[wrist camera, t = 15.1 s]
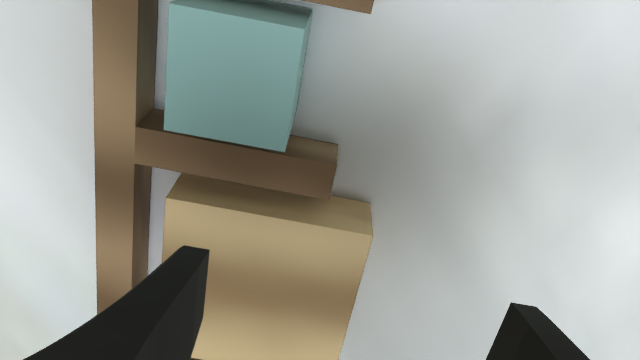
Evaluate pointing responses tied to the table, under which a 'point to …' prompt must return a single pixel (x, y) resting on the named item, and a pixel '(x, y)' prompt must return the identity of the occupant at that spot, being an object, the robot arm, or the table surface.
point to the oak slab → (270, 267)
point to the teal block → (235, 69)
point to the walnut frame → (167, 145)
